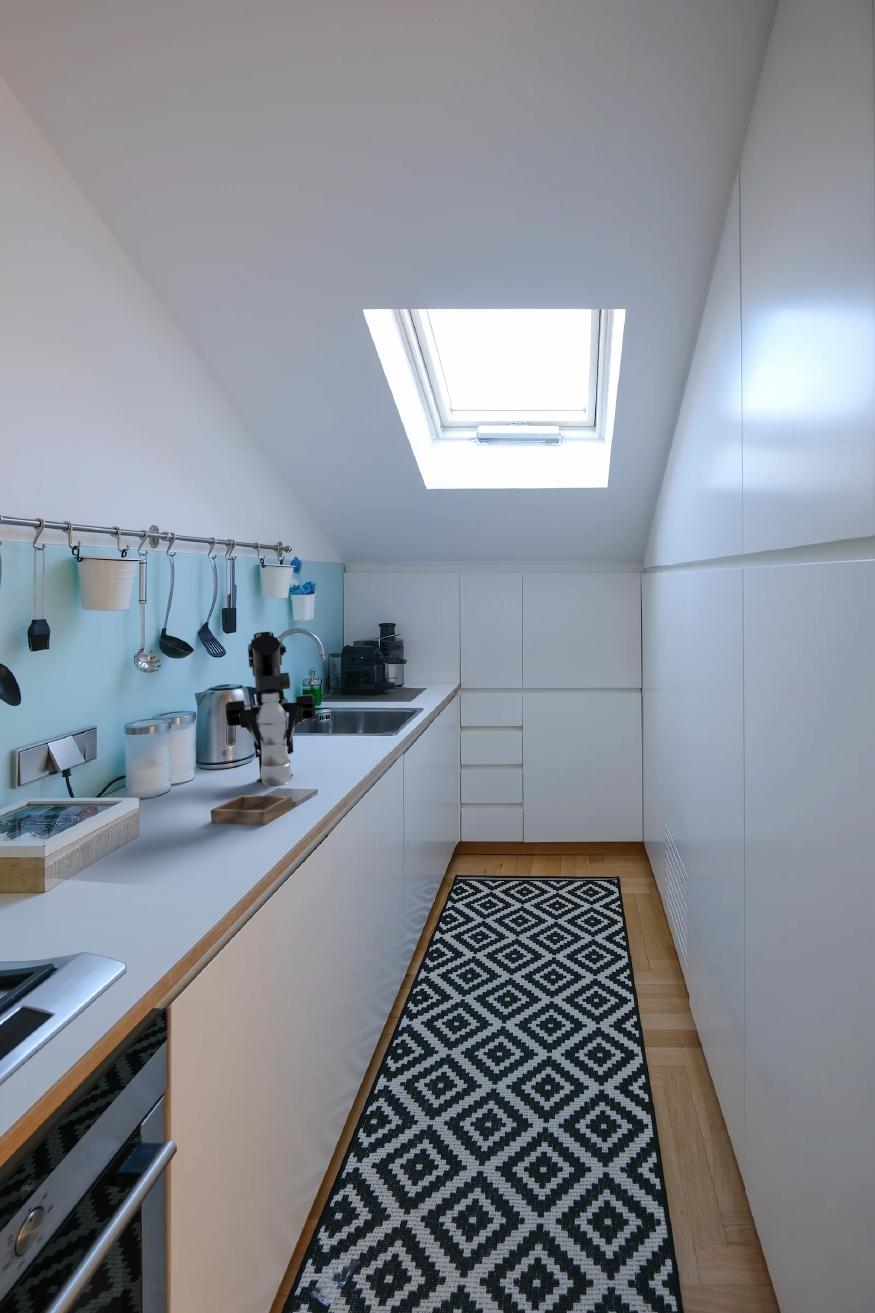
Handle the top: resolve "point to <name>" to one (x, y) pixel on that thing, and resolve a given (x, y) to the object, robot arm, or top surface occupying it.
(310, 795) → the slate pad
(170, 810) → the top surface
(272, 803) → the walnut collar
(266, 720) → the plastic bottle
